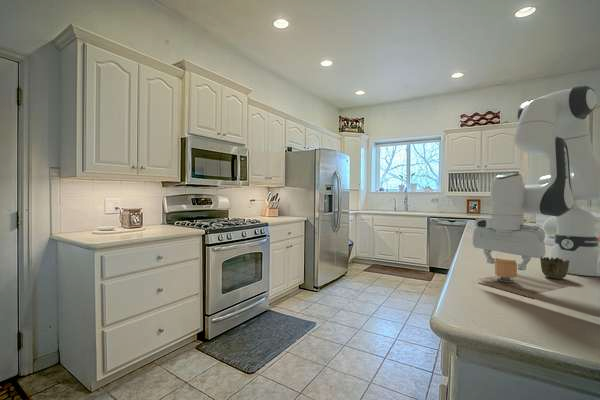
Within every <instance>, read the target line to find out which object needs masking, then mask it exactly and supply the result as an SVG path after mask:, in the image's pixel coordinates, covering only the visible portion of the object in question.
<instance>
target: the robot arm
mask: <svg viewBox="0 0 600 400" xmlns="http://www.w3.org/2000/svg"><path fill="white" fill-rule="evenodd" d="M596 105H597V96H596V93H595V90H594V88H592V87H590V86H588V85H579V86H573V87H572V88H568V89H561V90H558V91H554V92H551V93H549V94H545V95H543V96H539V97H537V98H534V99H530V100H527V101H526V102H523V103H522V104H521V105H520V106H519V108H518V110H517V121H518V122H517V125H516V129H515V134H514V143H515V145H516V147H517V148H518V149H519V150H520V151H523V152H524V153H526V154H529V155H533V156H538V157H541V158H546V159H548V160H549V174H547V175H543V176H541V177H540V178H539V179H538V180H537V182H536V184H525V183H524V180H523V176H522V174H520V173H513V172H512V173H504V174H497V175H495V176H494V177H493V178H492V181H491V182H492V183H491V187H490V199H489V200H490V201H489V202H490V205H491V209H490V211H489V217H487V218H483V219H478V220H475V221H474V227H475V228H474V230H473V232H472V233H473V234H472V245H473V247H474V248H476V249H482V250H483V254H484V256H485V258H486V264H491V265H495V259H496V258H494V257H493V256H492V255H491V253H492V251H493V252H499V253H506V254H510V255H516V256H521V260H522V262H521V263H517V271H518V270H520V271H524V272H525V271H526V270H527V265H528V264H529V262H531V260H532V258H534V259H540V258H541V257H542V258H544V257H545V256H546V244H545V237H546V232H545V231H544V229H543V228H541V227H539V226H536V225H532V226H531V225H527V224H525V223H524V221H525V214H528V215H529V214H530V215H543V216H551V217H555V222H556V223H555V224H556V225H555V227H556V233H555V234H554V243H555V244H554V245H553V246H552V247H550V253H549V259H551V257H552V258H553V259H555V258H559V259H562V260H563V262H564V261H566V260H568V261H569V267H568V272H567V274H570V275H571V274H572V275H577V276H578V275H579V276H586V277H587V276H590V277H600V248H599V243H600V237H599V236H596V229H597V228H596V227H597V226H596V224H597V222H596V220H597V219H596V217H595V215H594V214H593V213H591V212H590V211H588V210H586V209H583V208H581V207H580V206H579V204H578V201H600V161H599V159H598V158H597V157H596V155H595V153H594V149H593V144H592V140H591V133H590V128H589V123H588V120H587V116H589V115H590V114H591V113H593V111H594V109H595V108H596ZM571 171H572V172H571Z"/></svg>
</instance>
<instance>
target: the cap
mask: <svg viewBox="0 0 600 400" xmlns="http://www.w3.org/2000/svg"><path fill="white" fill-rule="evenodd" d="M517 274H518V263H517V260H515V259H511V258H506V257H505V258H504V257H498V258H495V260H494V275H495V276H501V277H508V278H514V277H517Z"/></svg>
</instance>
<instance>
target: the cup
mask: <svg viewBox="0 0 600 400" xmlns="http://www.w3.org/2000/svg"><path fill="white" fill-rule="evenodd" d="M539 259H540V260H539V261H540V267H541V272H542V274H543V275H544V276H545V277H547V278H548V279H552V280H561V279H564V278H566V276H567V275H568V273H567V272H568V267H569V261H568V260H566V261H564V262H563V260H562V259H559V258H555V259H553V258H552V257H551V259H550V257H548V256H546V257H545V256H543V257H541V258H539Z"/></svg>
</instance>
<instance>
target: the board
mask: <svg viewBox="0 0 600 400" xmlns="http://www.w3.org/2000/svg"><path fill="white" fill-rule="evenodd" d="M498 277H501V276H497V275H495V276H488V277H481V278H480V277H479V280H481V281H484V282H488V283H492V284H496V285H499V286H502V287H506V288H509V289H514V290H517V291H520V292H525V293H528V294H531V295H532V294H533V295H537V294H542V293H545V292H549V291H554V290H555V291H556V290H558V289H564V288H568V287H571V285H569V284H564V283H560V282H555V281H551V280H548V279H547V280H546V279H542V278H538V277H533V276H529V275H524V274H521V273H517V277H514V278H510V279H513V280H514V283H505V282H500V281H498V280H497V278H498ZM477 284H479V285H482V286H485V287H489V288H492V289H496V290H498V291H499V290H500V291H503V292H506V293H511V294H514V295H517V296H520V297H521V296H522V297H525V298H528V299H531V300H536V298H535V297H530V296H527V295H523V294H519V293H516V292H513V291H509V290H505V289H501V288H498V287H495V286H491V285H489V284H484V283H481V282H477Z"/></svg>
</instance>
